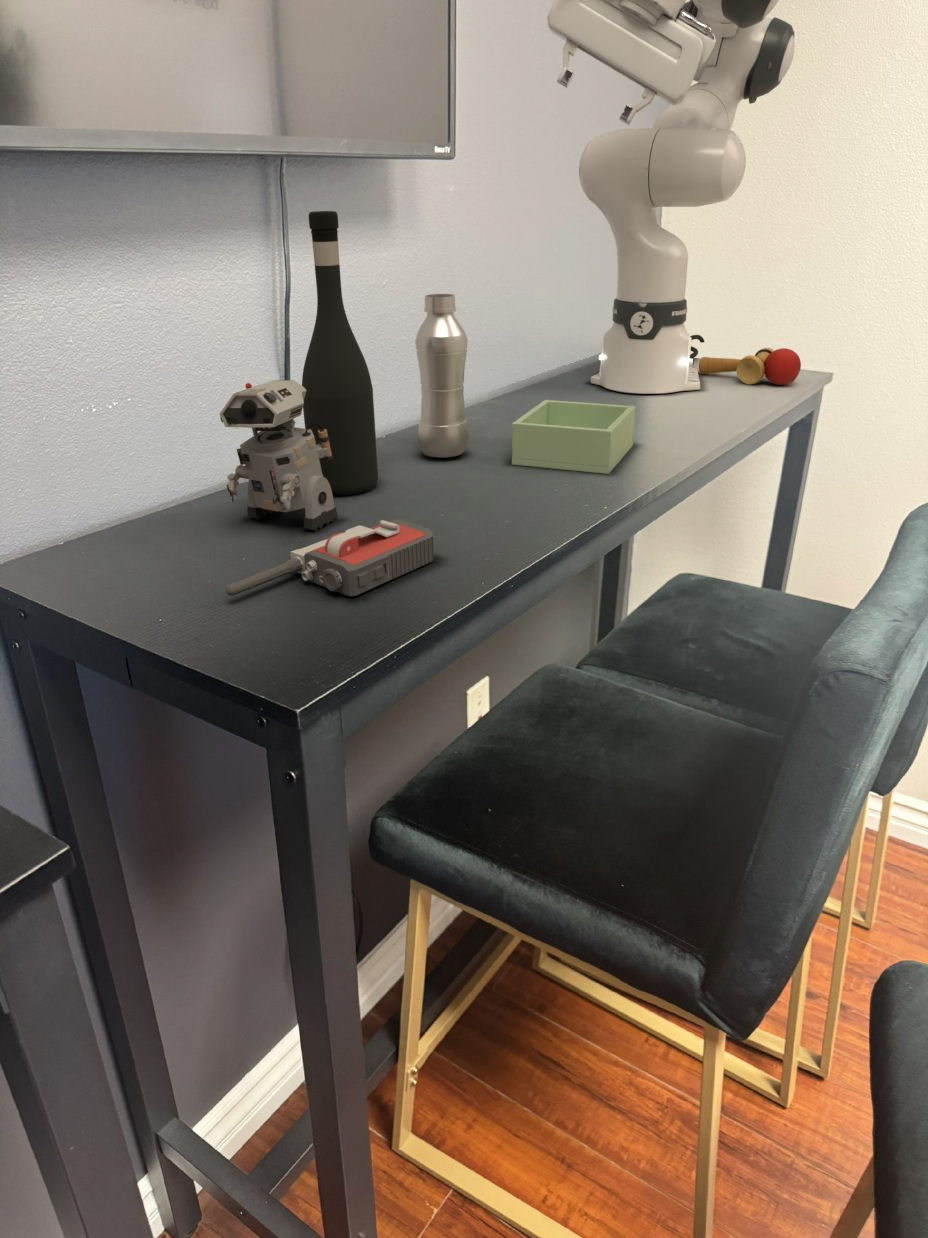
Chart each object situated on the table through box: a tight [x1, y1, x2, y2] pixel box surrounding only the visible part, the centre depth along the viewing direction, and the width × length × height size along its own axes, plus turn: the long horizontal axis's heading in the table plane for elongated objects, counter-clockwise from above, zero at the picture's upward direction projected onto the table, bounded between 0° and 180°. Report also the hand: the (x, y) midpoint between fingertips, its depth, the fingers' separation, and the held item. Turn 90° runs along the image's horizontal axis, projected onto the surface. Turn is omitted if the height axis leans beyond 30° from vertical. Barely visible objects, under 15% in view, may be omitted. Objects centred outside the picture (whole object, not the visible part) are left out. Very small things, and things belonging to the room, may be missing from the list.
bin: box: [511, 399, 636, 475], centre depth 116 cm, size 14×13×5 cm
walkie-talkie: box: [225, 518, 435, 598], centre depth 82 cm, size 9×4×20 cm
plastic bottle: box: [414, 293, 470, 458], centre depth 114 cm, size 6×7×20 cm
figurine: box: [219, 379, 338, 532], centre depth 92 cm, size 9×12×15 cm
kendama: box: [698, 347, 802, 386], centre depth 156 cm, size 8×6×18 cm
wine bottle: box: [301, 210, 379, 496], centre depth 100 cm, size 8×8×30 cm
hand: (593, 103), depth 117 cm, fingers open, 8 cm apart
